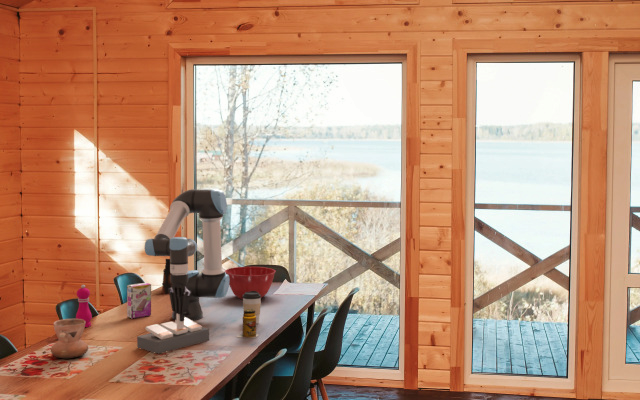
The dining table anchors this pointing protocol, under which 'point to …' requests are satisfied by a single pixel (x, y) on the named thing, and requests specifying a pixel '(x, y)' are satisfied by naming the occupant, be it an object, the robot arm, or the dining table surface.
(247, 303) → the coffee cup
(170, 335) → the rocker
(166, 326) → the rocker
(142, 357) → the dining table surface
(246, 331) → the condiment
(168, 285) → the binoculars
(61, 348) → the ceramic jug
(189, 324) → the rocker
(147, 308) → the candy bar box
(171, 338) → the power strip
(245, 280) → the mixing bowl
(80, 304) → the pepper mill
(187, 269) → the robot arm
